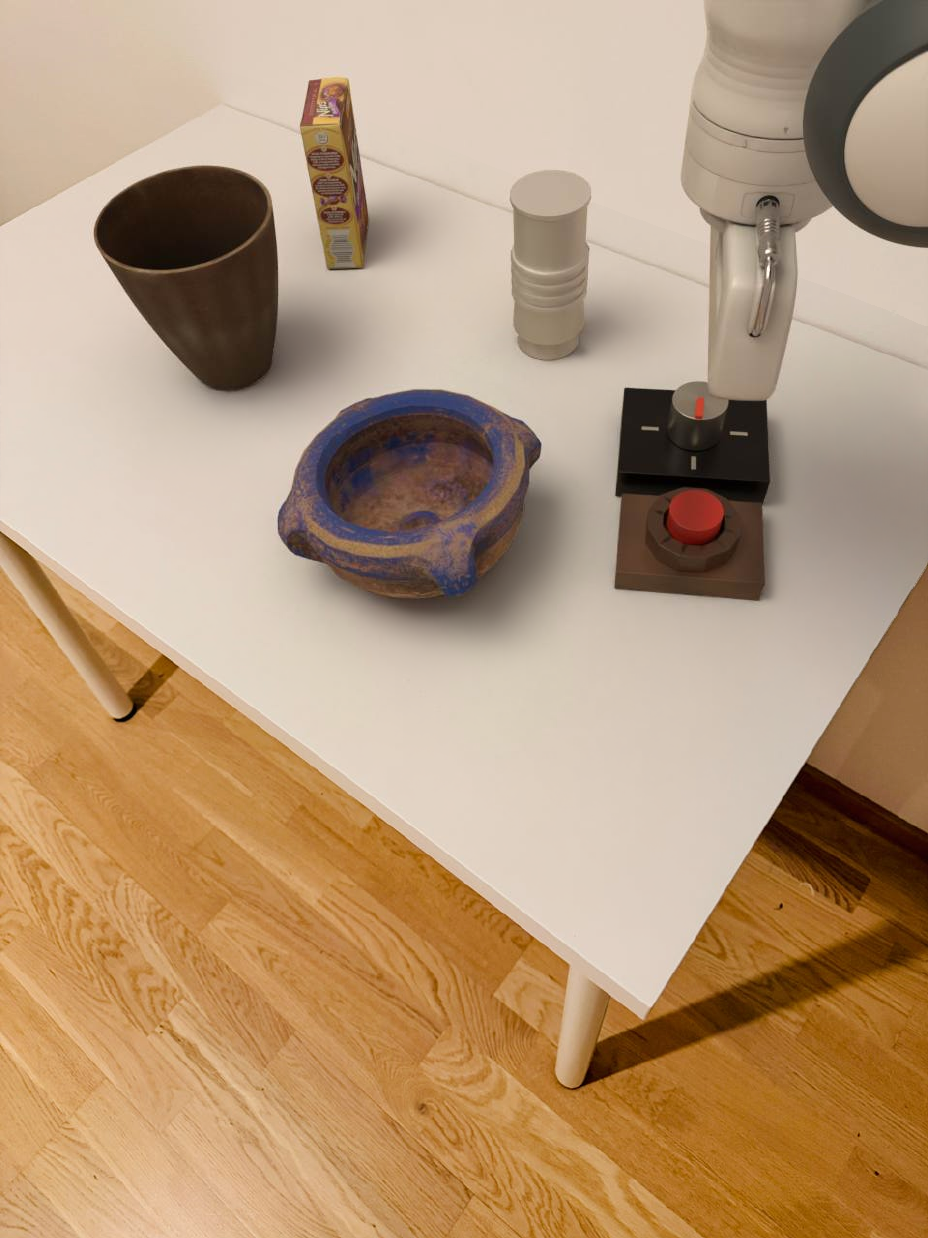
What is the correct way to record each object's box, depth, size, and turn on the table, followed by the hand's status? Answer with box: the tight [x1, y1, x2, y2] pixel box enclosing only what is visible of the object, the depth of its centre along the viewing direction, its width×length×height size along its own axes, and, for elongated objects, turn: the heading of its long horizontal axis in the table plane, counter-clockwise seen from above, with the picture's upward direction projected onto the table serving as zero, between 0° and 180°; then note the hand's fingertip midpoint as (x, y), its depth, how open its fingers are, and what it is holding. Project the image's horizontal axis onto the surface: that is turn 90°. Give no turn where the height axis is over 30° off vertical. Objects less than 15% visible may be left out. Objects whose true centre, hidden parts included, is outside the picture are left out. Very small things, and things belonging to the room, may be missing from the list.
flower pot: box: [93, 164, 279, 392], centre depth 82 cm, size 15×15×16 cm
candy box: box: [299, 76, 370, 270], centre depth 92 cm, size 9×4×15 cm, turn 179°
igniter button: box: [667, 490, 724, 545], centre depth 68 cm, size 4×4×2 cm
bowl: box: [277, 388, 542, 599], centre depth 70 cm, size 18×18×10 cm
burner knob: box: [667, 380, 728, 451], centre depth 74 cm, size 4×4×4 cm
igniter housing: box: [613, 487, 766, 601], centre depth 70 cm, size 11×8×4 cm
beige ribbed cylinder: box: [509, 169, 592, 361], centre depth 81 cm, size 7×7×15 cm
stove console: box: [614, 387, 771, 507], centre depth 76 cm, size 12×10×3 cm
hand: (725, 355), depth 60 cm, fingers closed
